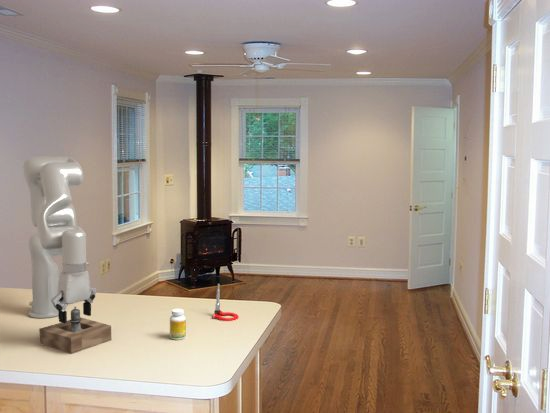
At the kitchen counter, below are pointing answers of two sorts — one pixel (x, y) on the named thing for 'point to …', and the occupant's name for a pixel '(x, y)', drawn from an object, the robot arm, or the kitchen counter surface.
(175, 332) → the supplement bottle
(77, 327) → the dark stone chess piece
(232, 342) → the kitchen counter surface
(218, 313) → the tow hook
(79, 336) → the well block
